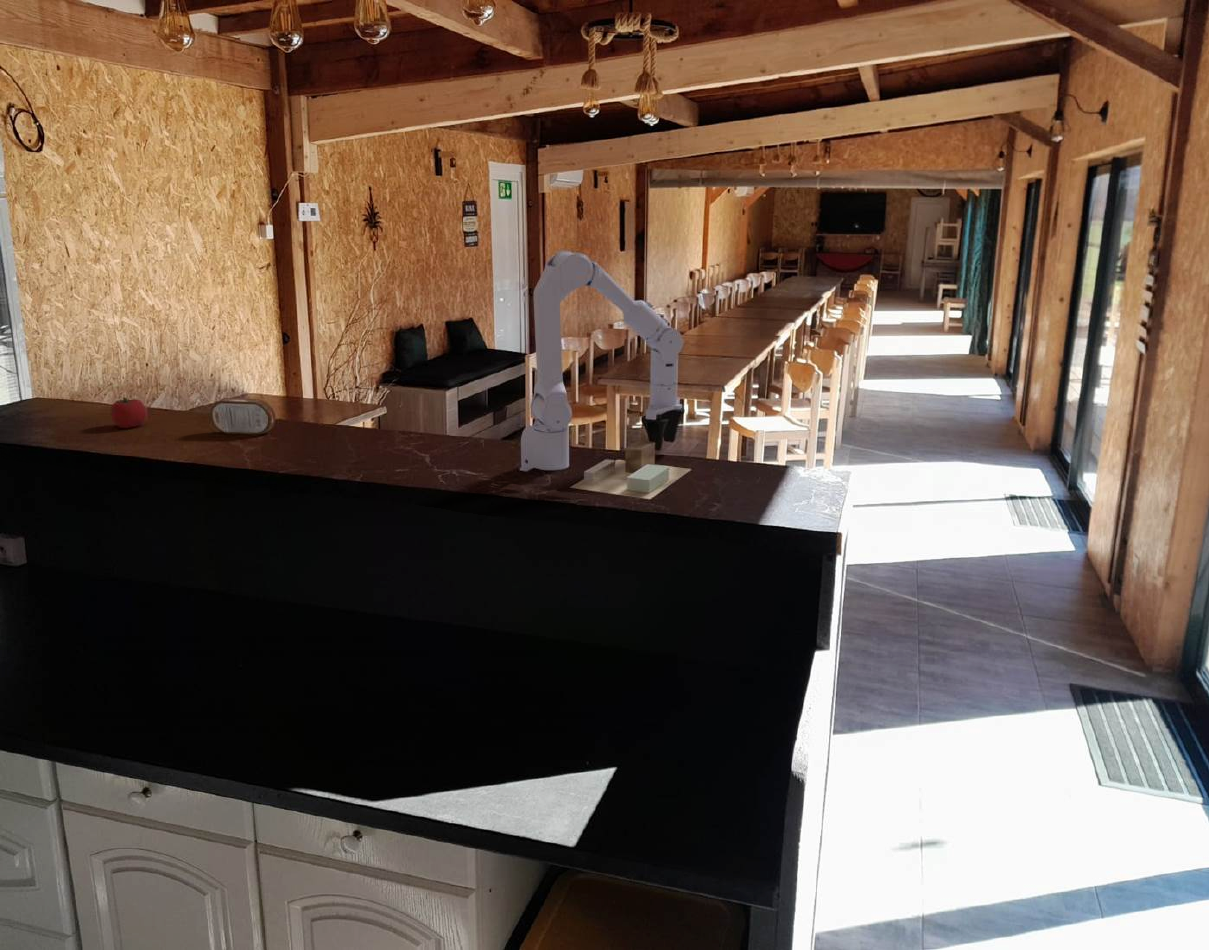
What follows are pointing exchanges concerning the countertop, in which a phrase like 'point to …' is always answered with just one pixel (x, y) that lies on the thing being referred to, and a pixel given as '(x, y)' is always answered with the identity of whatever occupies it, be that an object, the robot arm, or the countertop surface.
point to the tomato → (128, 413)
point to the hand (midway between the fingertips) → (662, 445)
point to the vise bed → (619, 482)
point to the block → (639, 455)
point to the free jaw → (647, 478)
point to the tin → (242, 416)
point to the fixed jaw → (599, 472)
